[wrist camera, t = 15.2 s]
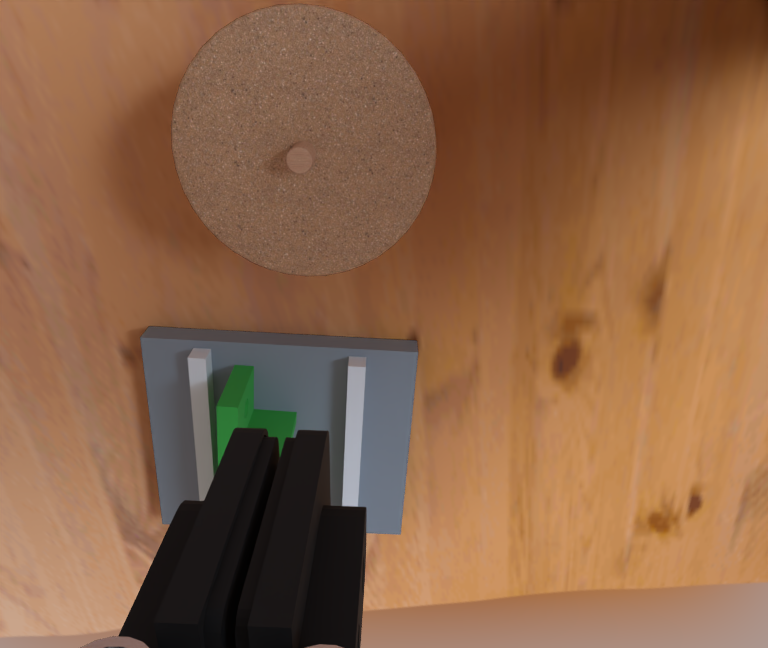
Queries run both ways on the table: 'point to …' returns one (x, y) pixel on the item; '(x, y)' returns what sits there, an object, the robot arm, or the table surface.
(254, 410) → the pipe clamp
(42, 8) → the table surface
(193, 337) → the rail board
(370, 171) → the lidded jar
